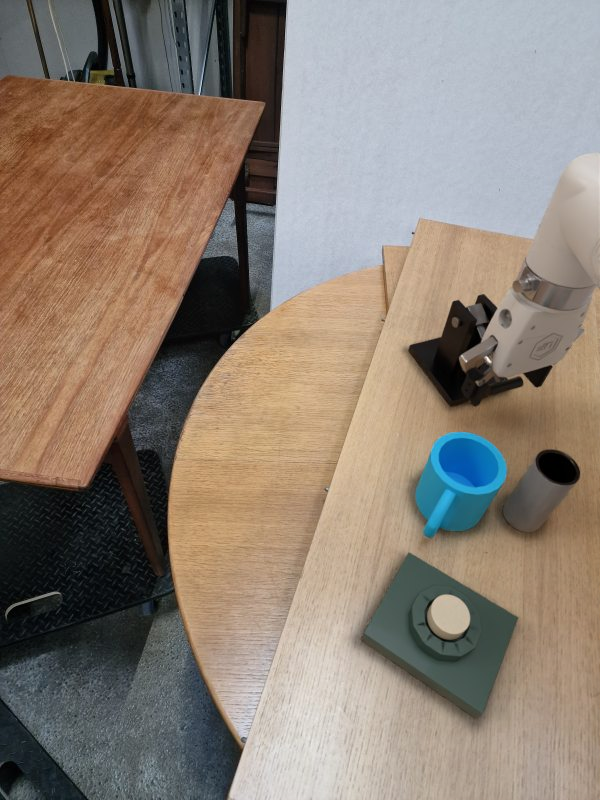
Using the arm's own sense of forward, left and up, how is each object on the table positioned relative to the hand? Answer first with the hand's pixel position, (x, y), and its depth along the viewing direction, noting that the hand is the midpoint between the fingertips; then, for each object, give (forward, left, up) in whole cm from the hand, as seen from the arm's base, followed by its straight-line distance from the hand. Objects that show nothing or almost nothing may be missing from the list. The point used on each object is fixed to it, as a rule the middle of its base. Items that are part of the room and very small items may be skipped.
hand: (500, 388), depth 67 cm
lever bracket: (+7, -5, -5) cm, 10 cm away
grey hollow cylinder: (-9, +13, -5) cm, 17 cm away
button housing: (-6, +31, -5) cm, 32 cm away
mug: (-1, +18, -5) cm, 19 cm away
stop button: (-6, +31, -1) cm, 32 cm away
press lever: (+4, -3, +2) cm, 5 cm away
